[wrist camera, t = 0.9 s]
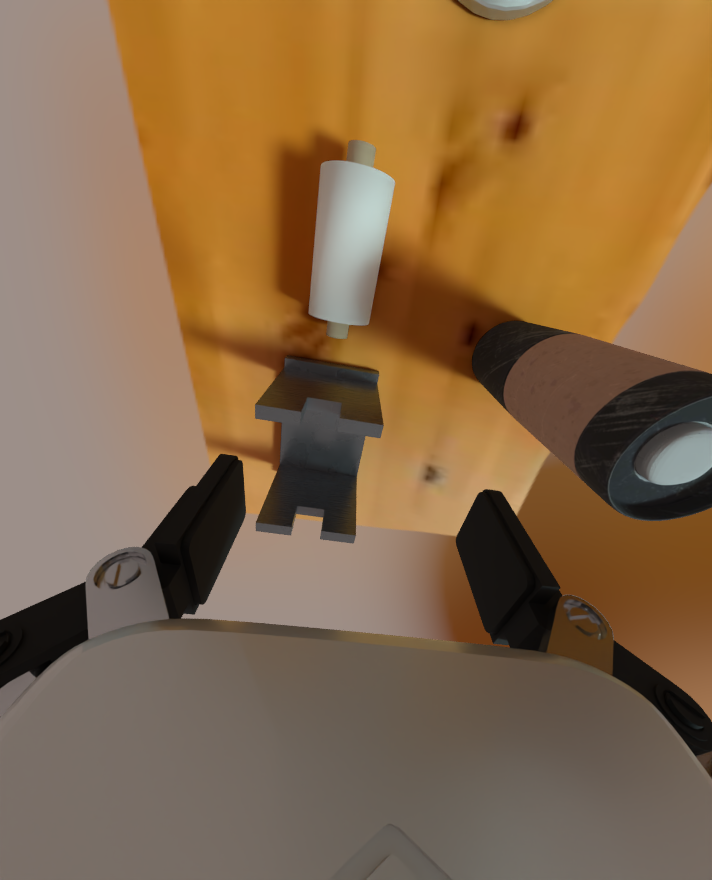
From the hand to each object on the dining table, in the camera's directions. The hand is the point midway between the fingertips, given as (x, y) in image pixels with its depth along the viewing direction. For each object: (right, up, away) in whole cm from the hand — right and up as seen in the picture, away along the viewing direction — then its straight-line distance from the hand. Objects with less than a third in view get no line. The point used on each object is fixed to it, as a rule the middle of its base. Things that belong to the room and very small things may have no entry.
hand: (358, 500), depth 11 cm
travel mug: (+16, +12, +19) cm, 27 cm away
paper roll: (-1, +19, +15) cm, 24 cm away
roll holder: (-4, +4, +24) cm, 24 cm away
